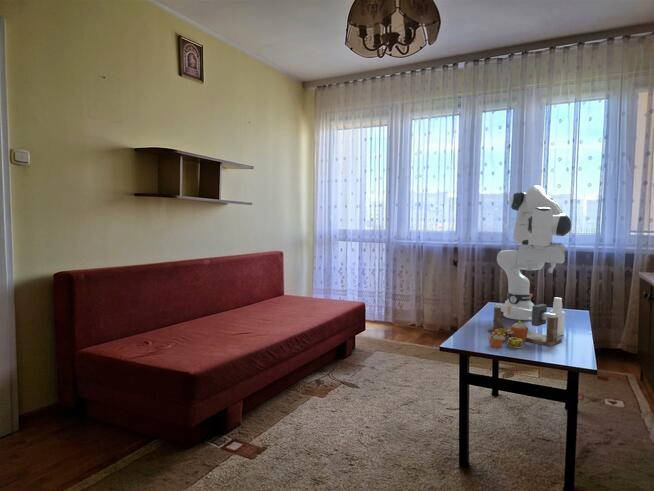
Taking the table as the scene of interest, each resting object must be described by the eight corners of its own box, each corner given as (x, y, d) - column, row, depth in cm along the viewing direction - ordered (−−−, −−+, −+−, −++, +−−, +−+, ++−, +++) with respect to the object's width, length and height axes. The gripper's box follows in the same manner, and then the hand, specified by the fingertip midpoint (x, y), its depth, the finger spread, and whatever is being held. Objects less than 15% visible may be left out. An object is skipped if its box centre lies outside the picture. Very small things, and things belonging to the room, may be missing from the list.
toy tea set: (494, 334, 207) (494, 315, 207) (528, 339, 200) (529, 319, 199) (484, 347, 185) (485, 326, 184) (523, 354, 177) (524, 331, 176)
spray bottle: (551, 331, 213) (552, 296, 212) (565, 333, 209) (567, 298, 207) (546, 333, 209) (548, 297, 207) (561, 336, 204) (563, 299, 203)
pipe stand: (488, 331, 210) (489, 304, 209) (500, 328, 218) (501, 301, 217) (549, 346, 187) (551, 316, 186) (561, 342, 194) (563, 312, 193)
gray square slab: (531, 325, 194) (532, 306, 194) (540, 322, 200) (541, 303, 199) (537, 326, 193) (537, 307, 192) (546, 323, 198) (546, 304, 198)
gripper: (568, 243, 188) (566, 273, 189) (523, 240, 205) (521, 269, 205) (561, 243, 185) (560, 274, 185) (516, 240, 201) (515, 269, 201)
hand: (539, 271), depth 195 cm, fingers open, 8 cm apart
